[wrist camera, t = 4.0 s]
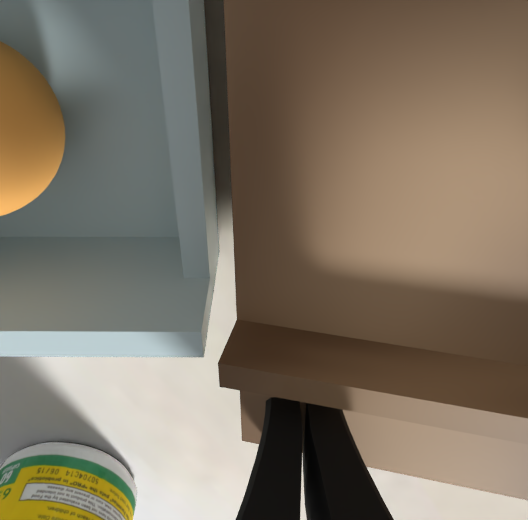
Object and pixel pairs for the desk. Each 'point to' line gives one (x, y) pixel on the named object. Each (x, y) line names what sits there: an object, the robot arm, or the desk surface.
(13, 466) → the supplement bottle
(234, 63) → the board
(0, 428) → the desk surface
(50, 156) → the ball
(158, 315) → the light blue tray
